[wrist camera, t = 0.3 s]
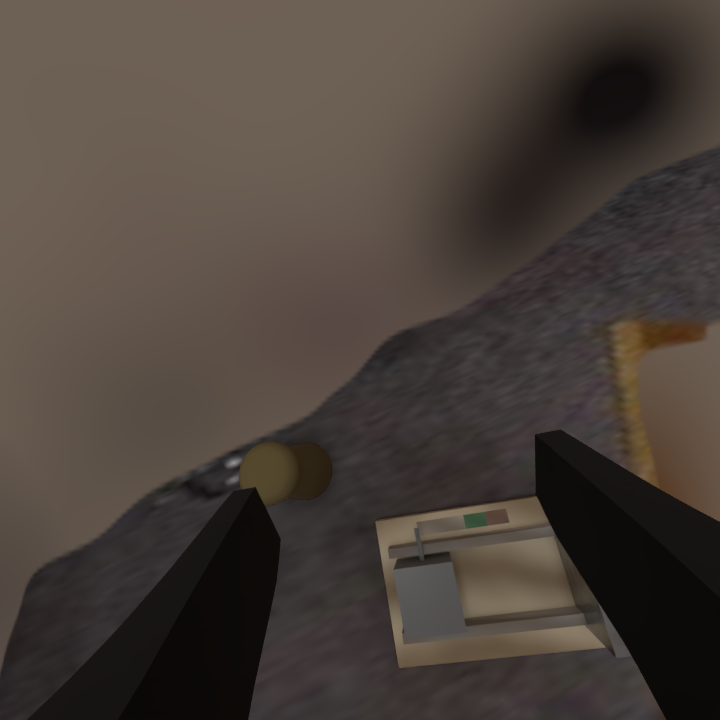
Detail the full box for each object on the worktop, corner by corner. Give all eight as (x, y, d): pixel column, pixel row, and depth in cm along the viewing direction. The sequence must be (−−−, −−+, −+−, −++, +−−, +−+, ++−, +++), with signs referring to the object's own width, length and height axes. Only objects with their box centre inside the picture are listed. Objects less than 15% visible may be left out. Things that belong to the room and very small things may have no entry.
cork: (282, 504, 38) (228, 518, 28) (277, 448, 40) (225, 442, 30) (335, 495, 37) (300, 506, 27) (328, 438, 39) (292, 428, 29)
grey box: (617, 616, 29) (663, 653, 23) (580, 620, 29) (616, 657, 24) (583, 514, 32) (617, 524, 26) (548, 519, 32) (574, 530, 26)
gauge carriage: (462, 614, 31) (467, 632, 28) (407, 620, 32) (405, 638, 28) (442, 520, 33) (444, 526, 30) (391, 528, 34) (387, 535, 31)
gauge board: (619, 638, 30) (638, 655, 27) (400, 660, 32) (397, 678, 29) (570, 489, 33) (582, 492, 31) (377, 519, 36) (373, 524, 33)
